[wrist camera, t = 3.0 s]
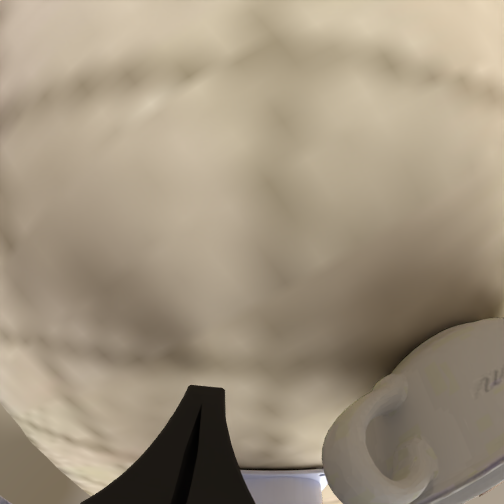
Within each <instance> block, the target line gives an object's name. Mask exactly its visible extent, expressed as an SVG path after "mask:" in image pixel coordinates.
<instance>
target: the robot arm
mask: <svg viewBox="0 0 504 504" xmlns="http://www.w3.org/2000/svg"><path fill="white" fill-rule="evenodd" d="M327 484H328V482H327V479H326V477H325V474H324V469H311V470H288V471H259V470H240V469H239V466H238V463H237V460H236V457H235V454H234V451H233V448H232V445H231V441H230V437H229V433H228V428H227V423H226V417H225V390H224V389H223V388H217V387H206V386H196V385H190V386H188V389H187V391H186V393H185V395H184V397H183V399H182V400H181V402H180V404H179V406H178V407H177V409H176V411H175V412H174V414H173V415H172V417H171V418H170V420H169V421H168V423H167V424H166V426H165V427H164V429H163V430H162V431H161V433H160V434H159V435H158V437H157V438H156V439H155V440H154V442H153V443H152V444H151V445H150V447H149V448H148V449H147V450H146V451H145V452H144V453H143V455H142V456H141V457H140V458H139V459H138V460H137V461H136V462H135V463H134V464H133V465H132V466H131V467H130V468H128V469H127V470H126V471H125V472H124V473H123V474H122V475H121V476H119V477H118V478H117V479H116V480H114V481H113V482H112V483H110V484H109V485H108V486H106V487H105V488H104V489H102V490H101V491H99V492H98V493H96V494H95V495H93V496H91V497H90V498H88V499H86V500H85V501H83V502H81V503H80V504H323V500H322V490H323V489H324V488H325V486H326V485H327ZM0 504H12V503H10V502H9V501H7V500H5V499H4V498H3V497H1V496H0Z"/></svg>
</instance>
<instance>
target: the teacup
mask: <svg viewBox="0 0 504 504" xmlns="http://www.w3.org/2000/svg"><path fill="white" fill-rule="evenodd" d="M322 463H323V469H324V474H325V477H326V479H327V482H328V485H329V486H330V488H331V490H332V491H333V493H334V494H335V495H336V496H337V498H338V499H339V500H340V501H341V502H342V503H343V504H464V503H465V502H467V501H469V500H471V499H473V498H475V497H477V496H479V495H480V494H482V493H484V492H486V491H487V490H489V489H491V488H492V487H494V486H496V485H497V484H499V483H501V482H502V481H504V318H488V319H483V320H479V321H476V322H471V323H465V324H461V325H457V326H454V327H451V328H448V329H446V330H444V331H442V332H440V333H438V334H436V335H435V336H433V337H431V338H429V339H428V340H427V341H425V342H424V343H422V344H421V345H419V346H418V347H417V348H415V349H414V350H413V351H412V352H411V353H410V354H409V355H407V356H406V357H405V358H404V359H403V360H402V361H401V362H400V363H399V364H398V366H397V367H396V368H395V369H394V370H393V371H392V373H391V374H390V375H388V376H385V377H384V378H382V379H381V380H380V381H379V382H377V383H376V385H375V386H374V387H373V390H372V392H370V393H368V394H367V395H365V396H363V397H362V398H360V399H358V400H357V401H356V402H354V403H353V404H352V405H350V406H349V407H348V408H347V409H346V410H345V411H344V412H343V413H342V414H341V415H340V416H339V417H338V418H337V419H336V421H335V422H334V423H333V425H332V426H331V428H330V429H329V430H328V433H327V435H326V437H325V440H324V444H323V448H322Z"/></svg>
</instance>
